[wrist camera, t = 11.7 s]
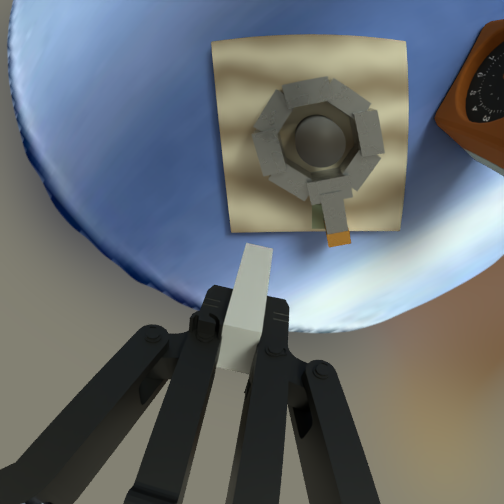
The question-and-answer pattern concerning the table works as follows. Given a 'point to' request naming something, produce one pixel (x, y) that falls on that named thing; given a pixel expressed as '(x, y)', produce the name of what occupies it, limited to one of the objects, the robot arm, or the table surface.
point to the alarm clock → (479, 100)
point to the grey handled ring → (325, 181)
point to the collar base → (310, 126)
